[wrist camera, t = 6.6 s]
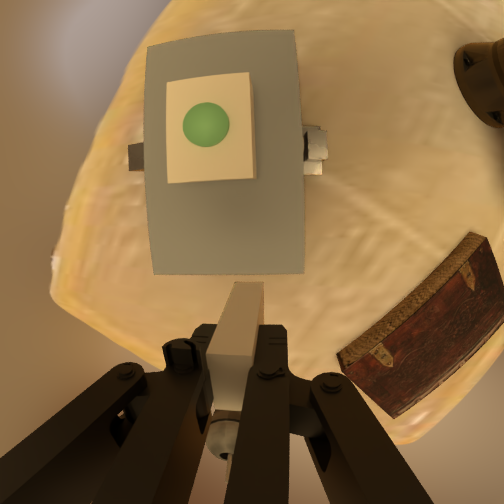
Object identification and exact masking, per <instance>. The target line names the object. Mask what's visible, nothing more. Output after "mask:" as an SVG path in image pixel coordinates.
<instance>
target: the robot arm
mask: <svg viewBox="0 0 504 504" xmlns="http://www.w3.org/2000/svg"><path fill="white" fill-rule="evenodd" d="M454 70H455V75H456V79H457V82H458V85H459V87H460V90H461V92H462V94H463V96H464V98H465V100H466V101H467V103H468V105H469V106H470V107H471V109H472V110H473V111H474V113H475V114H476V115H477V116H478V117H479V118H480V119H481V120H482V121H483V122H485V123H486V124H488V125H489V126H492V127H495V128H502V127H504V38H502V39H500V40H498V41H496V42H480V43H469V44H466V45H465V46H463V47H461V48H460V49H459V50H458V51H457V52H456V54H455V58H454ZM162 349H163V354H164V358H165V362H166V368H165V369H164V371H160V372H151V373H145V372H144V369H143V368H142V366H141V365H139V364H137V363H133V362H126V363H122V364H119V365H117V366H115V367H113V368H112V369H111V370H110V371H108V372H107V373H106V374H105V375H103V376H102V377H101V378H100V379H98V380H97V381H96V382H95V383H93V384H92V385H91V386H90V387H88V388H87V389H86V390H85V391H84V392H82V393H81V394H80V395H79V396H77V397H76V398H75V399H74V400H72V401H71V402H70V403H69V404H67V405H66V406H65V407H64V408H62V409H61V410H60V411H59V412H58V413H56V414H55V415H54V416H52V417H51V418H50V419H49V420H47V421H46V422H45V423H44V424H43V425H41V426H40V427H39V428H37V429H36V430H35V431H34V432H33V433H31V434H30V435H29V436H28V437H26V438H25V439H24V440H22V441H21V442H20V443H19V444H17V445H16V446H15V447H14V448H12V449H11V450H10V451H9V452H7V453H6V454H5V455H4V456H2V457H1V458H0V504H90V503H91V502H92V501H93V502H92V504H188V501H189V498H190V494H191V490H192V487H193V484H194V480H195V477H196V473H197V470H198V466H199V463H200V459H201V456H202V452H203V448H204V445H205V442H206V438H207V434H208V431H209V427H210V424H211V420H212V414H211V406H212V403H213V402H214V408H215V409H219V410H232V411H241V416H240V421H239V427H238V432H237V438H236V443H235V448H234V454H233V459H232V464H231V469H230V474H229V480H228V485H227V490H226V495H225V500H224V504H288V498H289V497H288V496H289V441H290V439H289V438H290V437H289V436H290V433H292V434H296V435H300V436H304V439H305V442H306V444H307V447H308V449H309V452H310V454H311V457H312V460H313V462H314V465H315V467H316V470H317V472H318V475H319V477H320V479H321V482H322V484H323V487H324V490H325V492H326V495H327V497H328V499H329V502H330V504H434V503H433V502H432V500H431V498H430V497H429V495H428V494H427V492H426V491H425V489H424V488H423V486H422V485H421V483H420V482H419V480H418V479H417V477H416V476H415V474H414V473H413V471H412V470H411V468H410V467H409V465H408V464H407V462H406V461H405V460H404V458H403V457H402V455H401V454H400V452H399V451H398V449H397V448H396V446H395V445H394V443H393V442H392V440H391V439H390V437H389V436H388V434H387V433H386V431H385V430H384V428H383V427H382V425H381V424H380V423H379V421H378V420H377V418H376V417H375V415H374V414H373V412H372V411H371V409H370V408H369V406H368V405H367V403H366V402H365V401H364V399H363V398H362V396H361V395H360V393H359V392H358V390H357V389H356V387H355V386H354V384H353V383H352V382H351V380H350V379H349V378H348V377H346V376H344V375H342V374H340V373H334V372H328V373H322V374H320V375H317V376H316V377H315V378H314V379H313V380H312V381H310V380H305V379H302V378H299V377H297V376H295V375H294V374H292V373H291V372H290V370H289V368H288V347H287V330H286V329H285V328H284V326H283V325H264V291H263V282H235V283H234V286H233V288H232V291H231V293H230V295H229V298H228V300H227V303H226V305H225V308H224V310H223V312H222V315H221V317H220V320H219V322H218V324H202V325H200V326H199V327H198V328H196V329H195V331H194V333H193V334H192V337H191V338H190V339H187V338H179V339H174V340H171V341H169V342H167V343H165V344H164V345H163V346H162ZM122 410H123V412H124V414H123V415H121V416H120V417H118V414H119V413H120V412H121V411H122Z"/></svg>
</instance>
